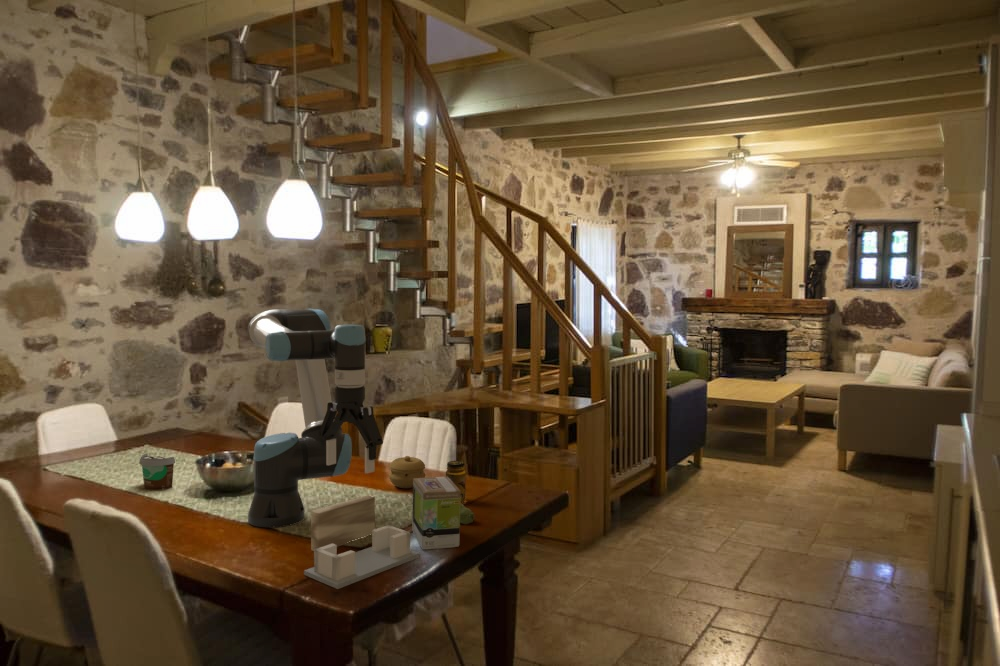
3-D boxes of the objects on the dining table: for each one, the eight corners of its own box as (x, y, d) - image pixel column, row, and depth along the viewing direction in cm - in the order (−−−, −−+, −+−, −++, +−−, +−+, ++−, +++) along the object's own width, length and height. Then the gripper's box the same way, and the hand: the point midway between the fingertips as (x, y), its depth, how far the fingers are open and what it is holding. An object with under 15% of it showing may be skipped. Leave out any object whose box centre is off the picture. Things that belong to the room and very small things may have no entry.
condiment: (470, 502, 226) (471, 463, 225) (446, 506, 221) (446, 467, 220) (458, 496, 232) (458, 458, 231) (434, 500, 227) (434, 461, 226)
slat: (311, 550, 185) (311, 510, 184) (367, 532, 199) (367, 495, 198) (318, 553, 183) (318, 513, 182) (374, 534, 197) (374, 497, 196)
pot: (431, 488, 241) (432, 457, 240) (399, 493, 234) (399, 462, 233) (414, 479, 250) (414, 450, 249) (382, 484, 243) (382, 454, 243)
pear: (451, 495, 213) (479, 507, 208) (448, 513, 214) (476, 525, 209) (439, 500, 209) (468, 512, 203) (436, 518, 209) (465, 530, 204)
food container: (130, 488, 236) (130, 457, 235) (146, 483, 241) (146, 452, 240) (160, 492, 231) (159, 461, 230) (175, 487, 237) (175, 456, 236)
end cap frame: (303, 574, 169) (303, 548, 169) (386, 545, 189) (386, 522, 188) (337, 589, 162) (337, 562, 161) (420, 556, 181) (420, 532, 181)
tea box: (461, 547, 188) (461, 489, 187) (421, 551, 185) (422, 492, 184) (448, 528, 202) (448, 474, 201) (411, 531, 199) (411, 476, 198)
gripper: (304, 382, 192) (305, 463, 194) (376, 391, 179) (376, 479, 180) (326, 379, 199) (326, 458, 200) (397, 388, 185) (396, 472, 186)
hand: (350, 468), depth 190 cm, fingers open, 13 cm apart
